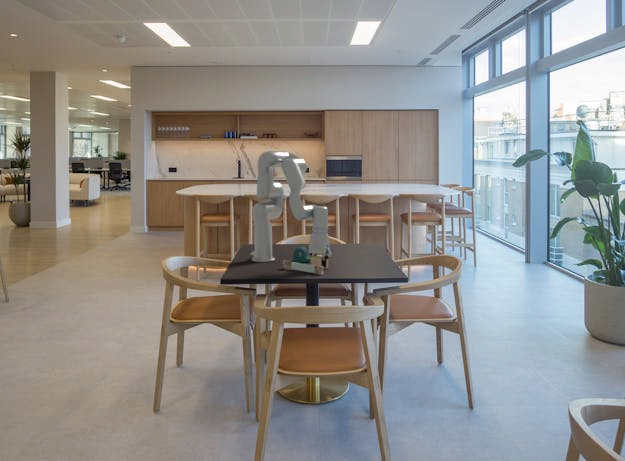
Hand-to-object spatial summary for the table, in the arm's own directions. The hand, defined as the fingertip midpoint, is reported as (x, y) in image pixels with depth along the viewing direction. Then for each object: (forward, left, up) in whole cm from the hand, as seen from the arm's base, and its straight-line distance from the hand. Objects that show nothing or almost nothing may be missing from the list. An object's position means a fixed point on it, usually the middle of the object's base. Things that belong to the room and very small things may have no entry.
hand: (319, 266), depth 293 cm
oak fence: (-2, -11, -1) cm, 11 cm away
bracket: (-17, +13, -2) cm, 21 cm away
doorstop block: (0, 0, -1) cm, 1 cm away
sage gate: (-1, -10, -1) cm, 10 cm away
